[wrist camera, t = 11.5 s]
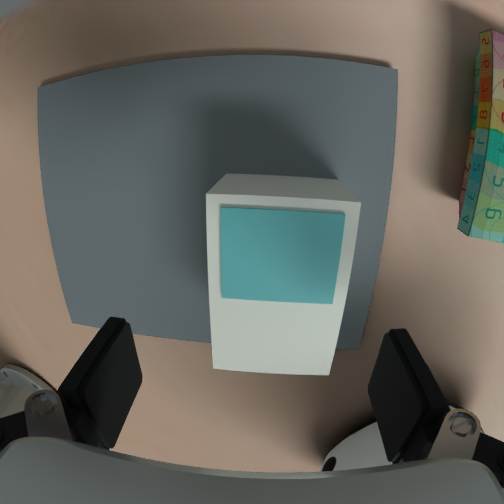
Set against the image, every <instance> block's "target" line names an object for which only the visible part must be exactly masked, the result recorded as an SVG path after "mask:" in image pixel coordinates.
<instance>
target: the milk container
mask: <svg viewBox="0 0 504 504" xmlns="http://www.w3.org/2000/svg"><path fill="white" fill-rule="evenodd" d="M448 405H449V407H450V409H451V410H454V409H464V408H462V407H460V406H458V405H455V404H450V403H448ZM465 410H466V409H465ZM480 432H482V433H484V432H483V430H482V428H481V430H480ZM391 464H392V462H389V461H388V460H387V456H386V453H385V449H384V445H383V442H382V438H381V435H380V431H379V428H378V424H377V421H376V419H375V420H373V421H371V422H369V423H368V424H366V425H364V426H363V427H361V428H359V429H357V430H355V431H354V432H352V433H350V434H349V435H347V436H346V437H345V438H343V439H342V440H341V441H340V442H339V443H337V444H336V445H335V446H334V447H333V448H332V449H331V450H330V451H329V453H328V455H327V456H326V458H325V460H324V462H323V464H322V468H321V472H323V471H338V470H349V469H359V468H368V467H376V466H384V465H391Z"/></svg>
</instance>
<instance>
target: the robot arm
mask: <svg viewBox="0 0 504 504" xmlns="http://www.w3.org/2000/svg"><path fill="white" fill-rule="evenodd" d="M141 383H142V372H141V368H140V364H139V360H138V356H137V352H136V348H135V343H134V339H133V334H132V330H131V325H130V323H128V322H126V320H125V319H124V318H119V317H109V318H108V319H107V321H106V322H105V323H104V325H103V326H102V327H101V329H100V330H99V331H98V333H97V334H96V336H95V337H94V338H93V340H92V341H91V342H90V344H89V345H88V347H87V348H86V349H85V351H84V352H83V354H82V355H81V356H80V358H79V359H78V361H77V362H76V363H75V365H74V366H73V368H72V369H71V371H70V372H69V374H68V375H67V376H66V378H65V379H64V381H63V382H62V384H61V385H60V387H59V389H58V390H57V392H55V391H54V390H53V389H52V388H51V387H50V386H49V385H47V384H46V383H45V382H44V381H42V380H41V379H40V378H38V377H37V376H35V375H34V374H33V373H31V372H29V371H28V370H26V369H24V368H22V367H19V366H16V365H13V364H7V365H4V366H3V368H2V369H1V370H0V504H504V442H502V441H500V440H497V439H495V438H493V437H491V436H488V435H486V434H484V433H482V432H480V430H481V425H480V421H479V419H478V418H477V416H476V415H475V414H473V413H472V412H470V411H468V410H465V409H454V410H451V409H450V407H449V405H448V403H447V401H446V400H445V398H444V396H443V394H442V392H441V390H440V388H439V386H438V384H437V382H436V380H435V379H434V377H433V375H432V373H431V371H430V369H429V367H428V366H427V364H426V363H425V361H424V360H423V358H422V356H421V354H420V352H419V351H418V349H417V347H416V345H415V344H414V342H413V340H412V338H411V337H410V335H409V333H408V332H407V330H406V329H391V330H390V331H389V333H386V334H385V335H384V338H383V341H382V345H381V348H380V351H379V354H378V358H377V361H376V364H375V367H374V370H373V373H372V376H371V379H370V382H369V385H368V394H369V397H370V401H371V404H372V407H373V410H374V414H375V417H376V421H377V424H378V428H379V431H380V435H381V438H382V442H383V445H384V449H385V453H386V456H387V460H388V461H389V462H392V464H391V465H384V466H376V467H368V468H359V469H349V470H338V471H323V472H296V473H272V472H245V471H230V470H219V469H209V468H200V467H192V466H185V465H178V464H172V463H166V462H161V461H155V460H150V459H145V458H140V457H136V456H131V455H127V454H122V453H118V452H114V451H110V450H109V449H110V448H113V447H114V446H115V444H116V441H117V439H118V437H119V434H120V432H121V429H122V427H123V425H124V422H125V420H126V418H127V415H128V413H129V411H130V408H131V406H132V404H133V402H134V399H135V397H136V395H137V392H138V390H139V388H140V386H141Z"/></svg>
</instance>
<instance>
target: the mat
mask: <svg viewBox="0 0 504 504" xmlns="http://www.w3.org/2000/svg"><path fill="white" fill-rule="evenodd" d="M397 91H398V69H393V68H388V67H382V66H377V65H371V64H365V63H358V62H351V61H344V60H336V59H326V58H316V57H303V56H286V55H219V56H201V57H189V58H178V59H169V60H161V61H153V62H146V63H139V64H133V65H127V66H122V67H117V68H111V69H107V70H102V71H97V72H93V73H89V74H84V75H80V76H76V77H73V78H69V79H65V80H62V81H58V82H55V83H51V84H48V85H45V86H42V87H38V139H39V155H40V167H41V177H42V186H43V194H44V202H45V208H46V215H47V221H48V227H49V232H50V237H51V243H52V247H53V252H54V257H55V261H56V266H57V270H58V274H59V278H60V282H61V286H62V290H63V293H64V297H65V300H66V304H67V307H68V311H69V314H70V317H71V320H72V323H76V324H81V325H86V326H92V327H97V328H101V327H102V326H103V325H104V323H105V322H106V321H107V319H108V318H109V317H119V318H124V319H125V320H126V322H128V323H130V325H131V330H132V333H134V334H140V335H147V336H155V337H162V338H170V339H178V340H187V341H196V342H206V343H212V342H211V326H210V307H209V286H208V261H207V228H206V193H207V192H208V191H209V190H210V189H211V188H212V187H213V186H214V185H215V184H216V183H217V182H218V181H219V180H220V179H221V178H222V177H223V176H224V175H225V174H258V175H279V176H296V177H311V178H325V179H337V180H339V181H340V182H341V183H342V184H343V185H344V186H345V187H346V188H347V189H348V190H349V191H350V192H351V193H352V194H353V195H354V196H355V197H356V198H357V199H358V200H359V201H360V202H361V207H360V215H359V222H358V230H357V237H356V243H355V250H354V256H353V262H352V268H351V274H350V280H349V285H348V291H347V296H346V301H345V306H344V311H343V316H342V321H341V326H340V330H339V335H338V339H337V344H336V348H335V349H359V347H360V343H361V340H362V336H363V332H364V328H365V324H366V320H367V316H368V312H369V308H370V303H371V299H372V295H373V290H374V285H375V281H376V276H377V271H378V266H379V260H380V255H381V250H382V244H383V238H384V232H385V226H386V219H387V212H388V205H389V197H390V189H391V181H392V171H393V161H394V150H395V136H396V119H397Z"/></svg>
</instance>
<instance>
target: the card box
mask: <svg viewBox="0 0 504 504" xmlns="http://www.w3.org/2000/svg"><path fill="white" fill-rule="evenodd" d="M360 207H361V202H360V201H359V200H358V199H357V198H356V197H355V196H354V195H353V194H352V193H351V192H350V191H349V190H348V189H347V188H346V187H345V186H344V185H343V184H342V183H341V182H340V181H339V180H337V179H325V178H311V177H296V176H279V175H258V174H225V175H224V176H223V177H222V178H221V179H220V180H219V181H218V182H217V183H216V184H215V185H214V186H213V187H212V188H211V189H210V190H209V191H208V192H207V193H206V228H207V261H208V286H209V307H210V326H211V342H212V357H213V369H222V370H233V371H245V372H258V373H274V374H297V375H329V373H330V369H331V365H332V361H333V357H334V353H335V348H336V344H337V339H338V335H339V330H340V326H341V321H342V316H343V311H344V306H345V301H346V296H347V291H348V285H349V280H350V274H351V268H352V262H353V256H354V250H355V243H356V237H357V230H358V222H359V215H360Z"/></svg>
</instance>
